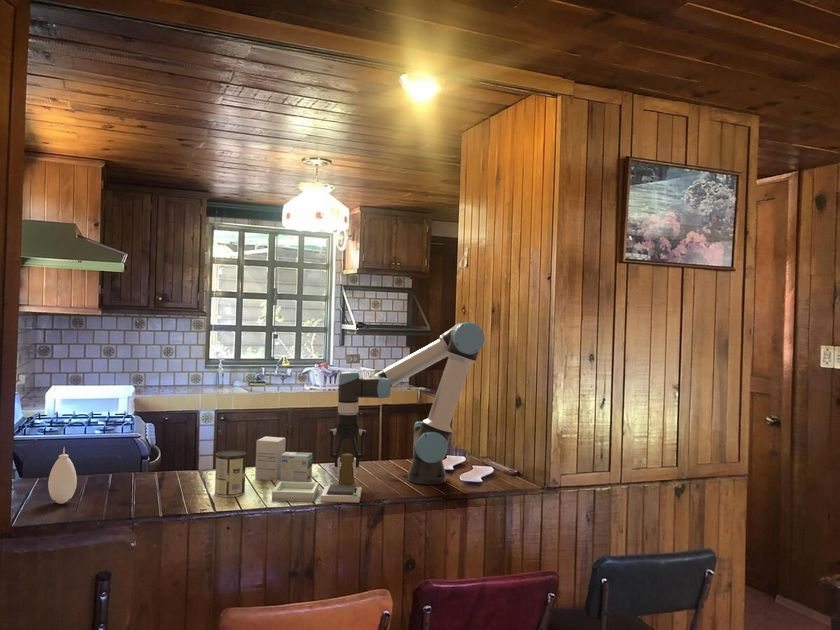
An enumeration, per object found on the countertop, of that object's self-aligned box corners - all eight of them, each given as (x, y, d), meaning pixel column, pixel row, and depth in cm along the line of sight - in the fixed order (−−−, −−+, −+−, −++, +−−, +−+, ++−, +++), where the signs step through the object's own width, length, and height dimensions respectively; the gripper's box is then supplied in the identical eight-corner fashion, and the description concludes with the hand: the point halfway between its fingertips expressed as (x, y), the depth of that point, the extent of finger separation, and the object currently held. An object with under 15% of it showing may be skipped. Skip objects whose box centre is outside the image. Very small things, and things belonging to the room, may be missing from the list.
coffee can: (228, 488, 235) (229, 449, 235) (251, 492, 231) (252, 452, 231) (207, 494, 226) (209, 453, 226) (231, 499, 221) (232, 457, 221)
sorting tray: (318, 490, 236) (318, 482, 236) (313, 501, 222) (313, 492, 222) (279, 489, 236) (279, 481, 236) (271, 500, 222) (272, 491, 222)
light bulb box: (312, 480, 250) (313, 452, 251) (307, 485, 244) (308, 456, 244) (284, 479, 252) (285, 451, 252) (279, 483, 245) (280, 454, 245)
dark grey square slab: (355, 489, 234) (355, 485, 234) (353, 496, 225) (354, 491, 225) (330, 489, 234) (330, 484, 234) (327, 495, 225) (327, 491, 225)
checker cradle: (361, 492, 236) (361, 484, 236) (359, 502, 223) (359, 494, 223) (325, 491, 236) (325, 483, 236) (320, 501, 223) (321, 493, 223)
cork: (338, 481, 246) (339, 452, 246) (354, 481, 247) (355, 452, 247) (338, 485, 240) (338, 455, 240) (354, 485, 241) (355, 455, 241)
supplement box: (263, 473, 258) (264, 435, 259) (285, 475, 257) (286, 437, 257) (254, 479, 249) (255, 439, 250) (276, 480, 248) (278, 441, 248)
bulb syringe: (56, 507, 204) (58, 450, 204) (42, 503, 208) (45, 446, 209) (80, 502, 211) (82, 446, 211) (66, 498, 215) (69, 443, 215)
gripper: (373, 412, 248) (371, 474, 247) (324, 411, 247) (323, 473, 247) (372, 415, 240) (370, 478, 240) (322, 414, 240) (320, 478, 239)
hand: (346, 475), depth 243 cm, fingers closed on cork, 5 cm apart
